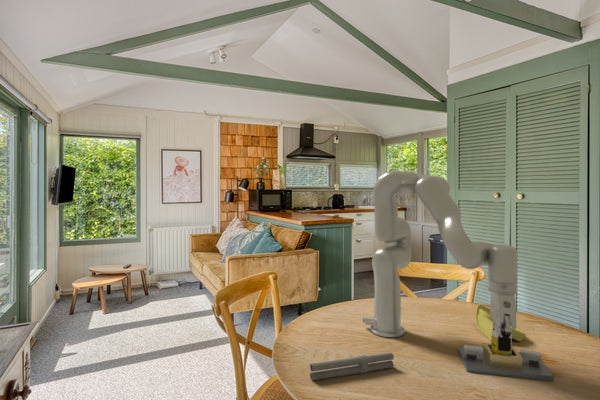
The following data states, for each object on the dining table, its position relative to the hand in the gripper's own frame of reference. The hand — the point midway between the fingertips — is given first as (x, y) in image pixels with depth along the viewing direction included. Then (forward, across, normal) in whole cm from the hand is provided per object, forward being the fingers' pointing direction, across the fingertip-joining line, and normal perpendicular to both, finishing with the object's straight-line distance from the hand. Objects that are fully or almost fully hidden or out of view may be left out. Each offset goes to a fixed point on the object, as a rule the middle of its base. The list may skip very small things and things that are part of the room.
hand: (501, 345), depth 108 cm
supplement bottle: (+4, 0, 0) cm, 4 cm away
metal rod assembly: (+6, -16, +42) cm, 46 cm away
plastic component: (+6, +27, -6) cm, 29 cm away
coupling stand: (+6, 0, 0) cm, 6 cm away
